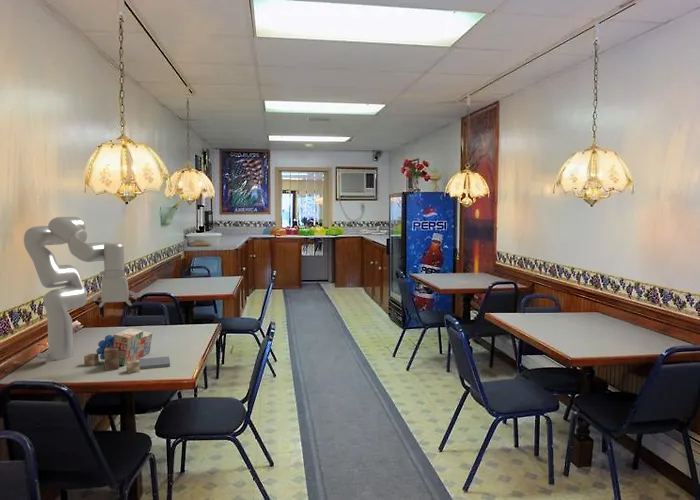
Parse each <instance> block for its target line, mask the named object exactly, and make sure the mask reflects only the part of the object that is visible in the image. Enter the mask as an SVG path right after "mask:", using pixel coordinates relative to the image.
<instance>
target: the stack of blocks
mask: <svg viewBox="0 0 700 500" xmlns="http://www.w3.org/2000/svg"><path fill="white" fill-rule="evenodd" d="M114 335H115V337H114V342H113V347H119V366H122V367H123V366H124V367H125V366H126V361H132V360H139V359H141V358H142V357H143V356H146V355H148V354H149V353H150V351H151V346H152V342H153V341H152V339H153V338H152V337H153V332H149V331H145V330H139V329H136V328H133V327H132V328H131V327H129V328H127V329H124V330H122V331H120V332H118V333H115V334H114Z"/></svg>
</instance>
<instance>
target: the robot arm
mask: <svg viewBox="0 0 700 500" xmlns="http://www.w3.org/2000/svg"><path fill="white" fill-rule="evenodd" d="M87 238H88V233H87V231H86V224H85V222H84V221H83V219H82V218H80V217H77V216H58V217H57V216H56V217H54V218H52V219H51V220H50V221H48V225H37V226H32V227H29V228H28V229H26V231H25V233H24V236H23V244H24V248H25V250H26V252H27V253H28V256H29V257H30V258H31V261H32V263H33V266H34V268H35V271H36V273H37V276H38V279H39V281H40V283H41V285H42V287H44V288H46V289H52V290H49V291H48V292H46V293H45V295H44V296H43V297H44V298H43V303H44V308H45V312H46V321H47V340H48V341H47V343H48V346H47V347H48V351H47V352H40V353H37V356H36V357H37V359H38V358H39V359H45V360H44V363H45V364H48V363H50V362H52V361H63V360H68V359H72V358H73V357H74V335H73V334H74V333H73V329H74V327H73V319H72V317H71V315H70V313H69V312H68V310H73V309H78V308H81V307H84V306H85V304H86V303H87V302H88V295H87V292H86V288H85V286H84V285H85V284H84V283H83V281H82V278H81V275H80V273H79V271H78V270H77V268H76V267H75V266H73V265H71V264H58V262H57V260H56V257H55V255H54V253H53V252H51V250H50V249H48V248H47V247H46V246H59V245H65V244H68V246H67V247H68V250H69V252H70V253H71V255H72V256H74V257H75V258H77V259H79V260H80V261H82V262H86V263H92V262H93V263H94V262H103V268H104V269H103V271H100V276H104V277H102V279H101V285H100V286H101V287H100V288H101V289H100V291H99V292H98V293H96V294H94V295H92V296H91V299H92V301H93V302H94V304H95V305H96V306H98V308H99V315H100V316H101V317H102V318H104V317H105V306H104V305H105V304H106V303H107V304H108V303H123V302H125V303H126V304H127V306H126V308H127V309H126V310H127V316H130V314H132V305H133V304H134V303H135V302H136V300H137V298H138V296H139V294H138V293H136V292H134V291H131V290H129V289H130V288H129V283H128V282H129V281H128V278H127V276H126V275H125V274H126V273H125V272H126V271H125V250H124V248H125V247H124V245H123V243H115V242H114V243H112V242H89V243H87V242H86V241H87ZM53 288H54V289H53ZM130 296H133V298H132V299H131V300H130V299H129V298H130ZM98 297H100V299H101V301H99V300H98V299H97V298H98Z"/></svg>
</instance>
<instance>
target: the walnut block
mask: <svg viewBox="0 0 700 500" xmlns="http://www.w3.org/2000/svg"><path fill="white" fill-rule="evenodd" d="M104 357H105V359H104V371H115V370H119V369H120V365H119V347H107V348H105V350H104Z"/></svg>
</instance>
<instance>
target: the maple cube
mask: <svg viewBox="0 0 700 500" xmlns="http://www.w3.org/2000/svg"><path fill="white" fill-rule="evenodd" d="M125 366H126V372H127V373H128V374H135V373H139V372H141V371H140V370H141V369H140V365H139V359H136V360H132V361H126V365H125Z"/></svg>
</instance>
